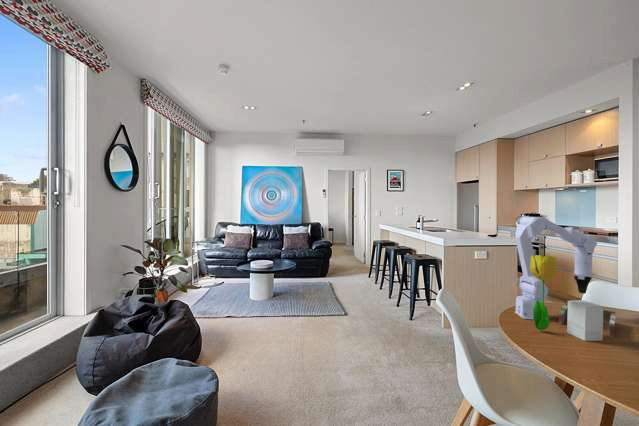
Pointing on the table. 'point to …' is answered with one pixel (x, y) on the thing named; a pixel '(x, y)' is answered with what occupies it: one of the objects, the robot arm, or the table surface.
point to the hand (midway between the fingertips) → (582, 292)
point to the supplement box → (585, 320)
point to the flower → (543, 271)
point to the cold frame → (607, 317)
